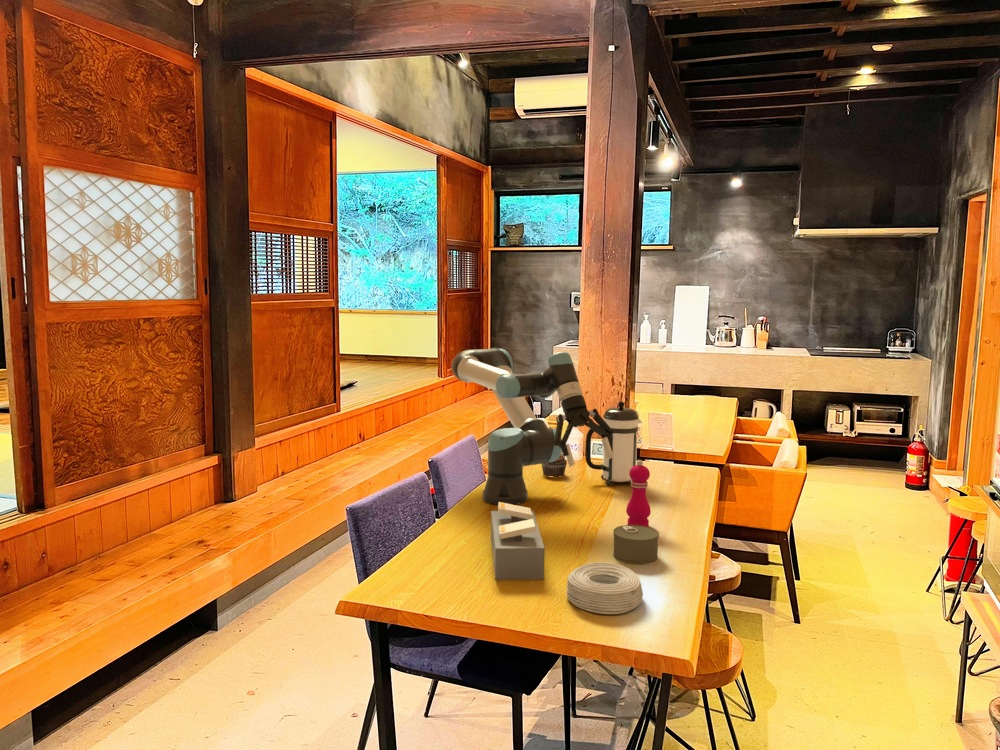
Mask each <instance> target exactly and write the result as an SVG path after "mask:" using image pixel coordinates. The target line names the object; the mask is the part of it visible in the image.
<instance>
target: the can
mask: <svg viewBox="0 0 1000 750" xmlns="http://www.w3.org/2000/svg"><path fill="white" fill-rule="evenodd" d="M612 533H613V555H612V556H613V558H614V559H615V560H617V561H619V562H620V563H624V564H629V565H636V566H638V565H639V566H643V565H644V564H645V565H650V563H651V564H653V563H655V562H657V561H658V555H659V554H658V552H659V538H660V532H659V531H658V530H656V529H655V528H653V527H650V526H648V527H646V526H641V525H628V524H626V525H619V526H616V527H615V528H613V530H612ZM656 560H657V561H656Z"/></svg>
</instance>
